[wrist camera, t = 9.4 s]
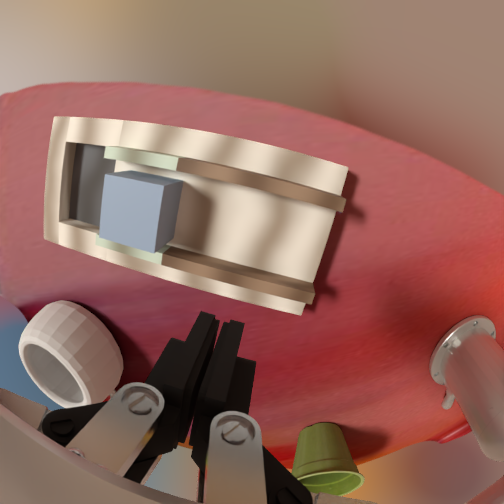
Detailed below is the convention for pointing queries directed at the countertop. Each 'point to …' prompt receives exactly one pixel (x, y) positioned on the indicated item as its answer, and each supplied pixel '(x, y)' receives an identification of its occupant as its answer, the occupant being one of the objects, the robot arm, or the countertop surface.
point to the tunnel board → (201, 206)
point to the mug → (71, 355)
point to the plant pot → (325, 461)
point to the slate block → (139, 209)
